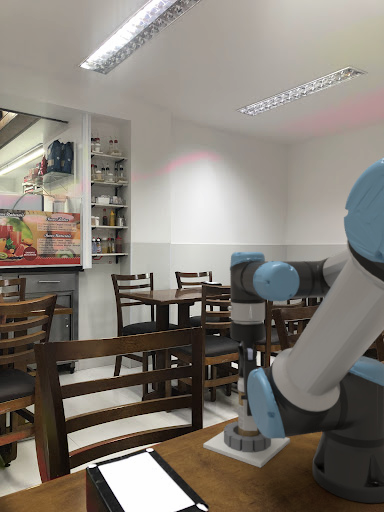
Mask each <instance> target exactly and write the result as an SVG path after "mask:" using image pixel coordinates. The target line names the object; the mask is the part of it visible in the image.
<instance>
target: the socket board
mask: <svg viewBox="0 0 384 512" xmlns="http://www.w3.org/2000/svg"><path fill="white" fill-rule="evenodd" d="M290 443H291V438H290V437H285V438H284V439H283V438H282V439H281V438H274V439H270V438H267V437H265V436H264V435H263V434H262V433H261V432H260V431H259V429H258V436H253V437H246V436H241V435H239V426H238V421H233V422H232V423H231V422H230V423H228V424H226V425H225V426H224V428H223V431H221V432H219V433H218V434H217V435H215V436H213V437H212V438H210V439H208V440H207V441H206V442H204V443H203V447H202V448H204V449H206V450H209V451H212V452H215V453H218V454H220V455H223V456H226V457H229V458H232V459H235V460H238V461H240V462H243V463H246V464H249V465H252V466H254V467H257V468H259V469H261V468H262V467H264V465H266V464H267V463H268V462H269V461H270V460H272V459H273V457H274V456H276V455H277V454H279V452H281V450H283V449H284V448H285V447H286V446H288V444H290Z"/></svg>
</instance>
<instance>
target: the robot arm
mask: <svg viewBox="0 0 384 512" xmlns="http://www.w3.org/2000/svg"><path fill="white" fill-rule="evenodd" d="M344 209H345V210H347V211H348V212H347V214H346V215H345V216H344V217H343V227H344V231H345V235H346V247H347V249H345V250H342V251H341V252H338V253H335V254H334V255H332V256H329V257H326V258H324V259H322V260H321V259H320V260H315V261H314V260H312V261H309V260H308V261H305V260H304V261H301V260H300V261H299V260H298V261H296V260H295V261H291V260H290V261H289V260H288V261H285V260H283V261H281V260H276V261H274V260H270V261H267V260H266V259H265V258H266V257H265V254H264V253H263V252H262V251H235V252H233V253H232V254H231V255H230V266H229V271H230V272H229V273H230V305H229V306H227V310H228V311H230V319H231V320H232V321H231V322H230V327H229V328H230V329H229V331H230V334H229V335H230V338H231V339H232V340H233V341H237V342H239V345H238V346H237V353H238V369H237V370H238V376H239V377H238V381H239V380H240V379H244V395H241V400H243V429H244V431H257V428H258V429H259V431H260V432H261V433H262V434H263V435H264V436H265V437H267V438H270V439H274V438H281V439H282V438H283V439H284V438H285V437H287V438H290V437H296V436H301V435H308V434H316V433H321V436H320V438H319V441H318V444H317V447H316V450H315V453H314V456H313V459H312V476H313V478H314V481H316V483H317V484H318V485H319V486H320V487H321V488H323V489H324V490H325V491H327V492H329V493H330V494H333V495H334V496H337V497H339V498H342V499H346V500H349V501H352V502H353V501H354V502H357V503H363V504H364V503H367V504H380V503H384V363H383V362H381V361H379V360H376V359H373V358H371V357H367V356H363V355H364V354H365V352H366V351H367V350H369V348H370V347H371V345H372V344H373V343H374V342H375V341H376V340H377V338H378V337H379V336H380V335H381V334H382V332H383V331H384V157H382V158H380V159H378V160H376V161H374V162H373V163H372V164H371V165H369V166H368V167H366V169H365V170H364V171H363V172H362V173H361V174H360V175H359V177H358V178H357V179H356V181H355V182H354V184H353V185H352V187H351V189H350V191H349V194H348V195H347V199H346V203H345V207H344ZM309 298H323V299H322V301H321V302H320V304H319V305H318V307H317V309H316V310H315V312H314V313H313V315H312V316H311V319H310V320H309V322H308V323H307V325H306V327H305V328H304V329H303V331H302V332H301V334H300V336H299V338H298V339H297V340H296V342H295V343H294V345H293V347H290V348H286V349H283V350H282V351H280V352H279V353H278V354H277V355H276V356H275V358H274V359H273V361H272V363H271V364H270V366H268V367H265V368H263V367H258V368H257V366H258V362H257V360H258V349H257V347H256V346H255V344H254V343H255V342H261V341H263V340H264V339H265V335H266V333H265V332H266V331H265V323H264V322H263V321H264V320H265V319H266V302H265V300H267V301H270V302H287V301H288V300H290V299H293V300H294V299H309Z"/></svg>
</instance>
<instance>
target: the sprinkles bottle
mask: <svg viewBox="0 0 384 512" xmlns="http://www.w3.org/2000/svg"><path fill="white" fill-rule="evenodd" d="M237 392H238V404H237V405H238V406H237V407H238V409H237V410H238V411H237V412H238V413H237V415H238V416H237V418H238V419H237V420H238V426H239V435H241V436H246V437H253V436H258V428H257V431H244V429H243V400H241V395H244V379H240V380H239V379H238V381H237Z"/></svg>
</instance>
